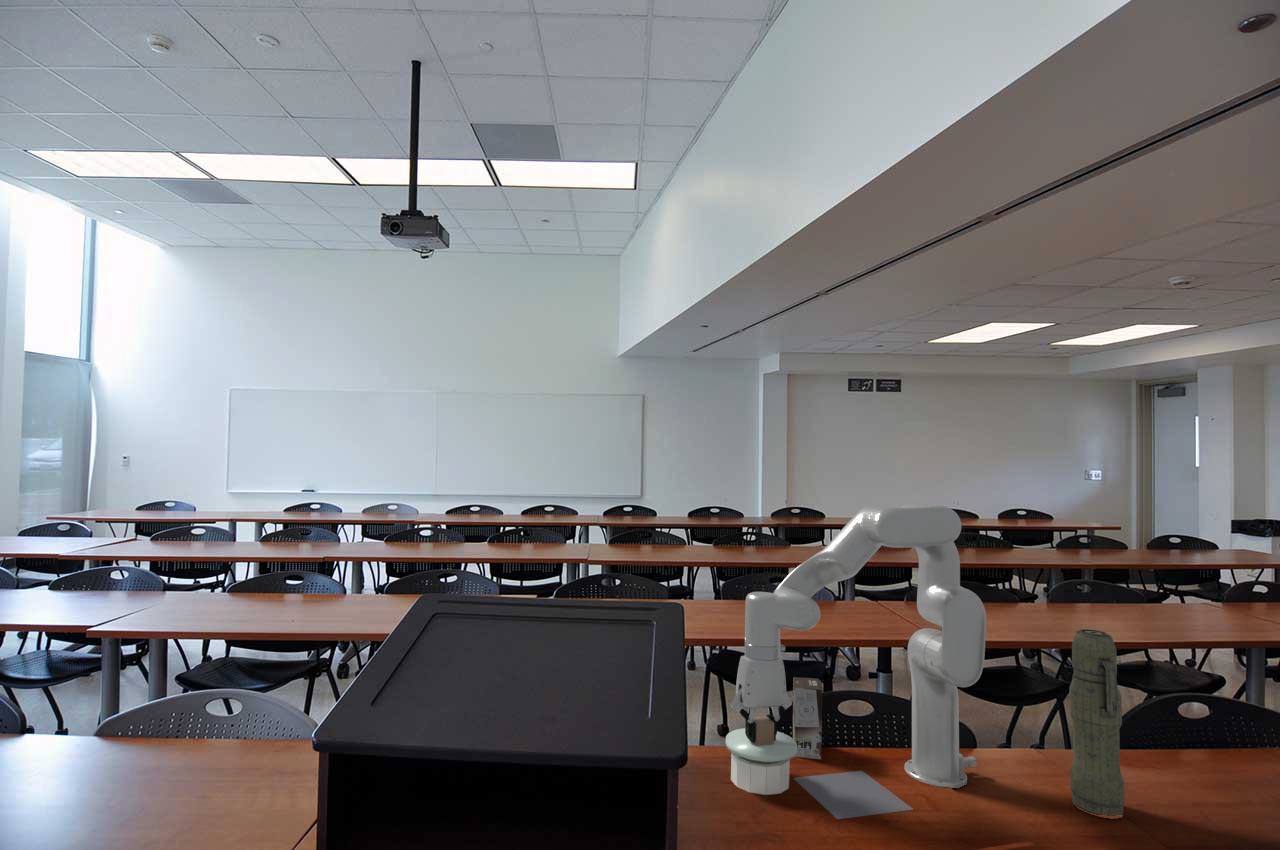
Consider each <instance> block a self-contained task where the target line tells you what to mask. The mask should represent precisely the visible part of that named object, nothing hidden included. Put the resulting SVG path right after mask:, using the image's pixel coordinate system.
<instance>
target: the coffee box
mask: <svg viewBox="0 0 1280 850" xmlns="http://www.w3.org/2000/svg"><path fill="white" fill-rule="evenodd" d="M792 685H793V687H792V693H793V694H792V696H793V697H792V738H793V739H794V740H795V741H796V743H797V753H796V755H795V756H794V757H797V758H805V759H813V760H814V759H815V760H822V737H823V736H822V732H823V731H822V730H823V729H822V725H823V722H822V721H823V720H822V719H823V714H822V713H823V712H822V711H823V687H822V685H821V680H820V679H819V678H812V677H796V676H794V677H793V683H792Z"/></svg>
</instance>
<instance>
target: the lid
mask: <svg viewBox="0 0 1280 850" xmlns="http://www.w3.org/2000/svg"><path fill="white" fill-rule="evenodd" d="M754 723H756V741H755V742H754V743H752V742H751V741H750V740H749V739H748V738H747V736H746V734H745V727H744V728H737V729H734V730H732V731H729V732H728V733H727V734H726V736H725V746H726V748H727V750H728V751H730V752H731V753H732V752H733V753H734V754H736V755H738V756H740V757H743V758H747V759H750V760H755V761H763V762H777V761H784V760H787V759H789V760H791V759H792V758H793V757H795V755H796V753H797V743H796V741H795V740H794V739H793V737H791V736H790V735H788V734H785V733H783V732H780V731H778V730H777V735H776V740H775V741H774V722H773V721H772V720H771V719H769V718H768V717H767V715H757V716H756V715H755V716H754Z"/></svg>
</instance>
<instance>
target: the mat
mask: <svg viewBox="0 0 1280 850" xmlns="http://www.w3.org/2000/svg"><path fill="white" fill-rule="evenodd" d="M792 779H793V780H794V781H796V782H797V784H799V786H801V787H802V788H803V789H804V790H805V791H806V792H807V793H808V794H809V795H810V796H811V797H813V798H814V799H815V800H816V801H817V802H818V803H819V804H820V805H821V806H822V807H823V808H824V809H825V810H826V811H828V813H830V814H831V815H832V816H833V817H834V818H835V819H837V820H843V819H850V818H859V817H867V816H876V815H882V814H884V815H885V814H891V813H898V812H899V813H900V812H907V811H914V808H912V807H911V806H910V805H909V804H907V803H906V802H905V801H903V800H902V799H901V798H900V797H898V796H896V795H895V794H894V793H893V792H891V791H890V790H889V789H887V788H886V787H885V786H883V785H882V784H881V783H879V782H878V781H876V780H875V779H874V778H872V777H871V776H870V775H869V774H867V773H866V772H865V771H863V770H856V771H855V770H854V771H846V772H836V773H827V774H817V775H808V776H798V777H792Z"/></svg>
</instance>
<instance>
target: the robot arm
mask: <svg viewBox="0 0 1280 850" xmlns="http://www.w3.org/2000/svg"><path fill="white" fill-rule="evenodd" d="M961 531H962V521H961V518H960V516H959V515H958V513H957V512H956V511H955V510H953V509H952V508H950V507H949V506H946V505H945V506H944V505H939V504H930V503H929V504H928V503H920V502H919V503H918V502H912V503H911V502H910V503H906V504H904V505H902V506H900V507H891V506H882V505H867V506H865V507H863V508H861V509H859V510H858V511H857V512H856V513H855V514H854V515H853V517H852V518H851V519H850V520H849V521H847V523H846V524H845V525H844V526H843V527H842V529H841V530H840V531H839V532H838V533H837V534H836V535H835V536H834V537H833V539H831V541H830V542H829V543H828V544H827V545H826V546H825V547H824V548H823V549H822V550H821V551H819V552H817V553H815V554H814V555H812V556H811V557H810V558H808V559H807V560H805V561H804V562H802V563H800V564H799V565H798V566H796V568H794V569H793V570H792V571H791V572H790V573H789V574H788V575H787V576H786V577H785V578H784V579H783V581H781V583H779V585H778V586H777V587H776V589H775V590H774V591H773V592H768V591H767V592H766V591H752V592H749V593H748V594H747V595H746V597H745V601H744V602H745V603H744V604H745V606H744V607H745V610H744V612H745V614H744V655H741V656H740V658H739V662H738V667H737V675H736V685H735V696H734V698H733V700H732V702H731V703H730V707H731V709H733V710H734V711H735V712H736V713H738V714H739V715H741V717H743V719H744V720H745V722H744V723H745V724H744V725H745V726H744V728H745V734H746V736H747V738H748V739H749V740H750V741H751V742H752V743H754V742H755V741H756V723H754V716H756V710H757V709H762V708H764V709H765V708H767V712H768V716H767V715H766V716H767V717H768V718H769V719H771V720H772V721H773V722H774V741H775V740H776V735H777V731H778V722H779V720H780V718H781V716H782V714H784V712H785V711H786V710H787V709H788V708H789V707H791V706H793V701H792V700H791V698H790V697H789V695H788V693H787V681H786V672H785V671H786V670H785V665H784V660H783V658H782V657H781V656H782V652H785V651H786V646H785V645H784V644H782V643H781V629H787V630H794V631H802V632H803V631H808V630H809V631H810V630H811V629H813V628H814V627H816V626H817V624H818V623H819V622H820V619H821V610H820V607H819V605H818V603H817V601H815V600H814V599H813V598H812V597H813V596H814V595H815V594H817V593H818V592H819V591H820V590H821V589H823V588H825V587H827V586H828V585H831V584H834V583H839V582H843V581H846V580H848V579H851V578H853V577H854V576H856V575H857V574H858V573H859V571H860V570H861V569H862V568H863V567H864V566H865V564H866V563H867V562H869V560H870V559H871V558H872V557H873V556H874V555H875V554H876V553H877V552H878V550H879V549H880V548H881V547H887V548H894V549H895V548H897V549H899V548H901V549H902V548H904V549H905V548H906V549H907V548H914V549H915V551H916V553H917V557H918V578H917V591H916V592H917V593H916V596H917V597H916V609H917V612H918V613H919V615H920V616H921V617H922V618H923V619H924V620H926V621H927V622H929V623H932V624H934V625H936V626H939V627H941V630H939V629H936V628H928V627H926V628H924V627H923V628H922V629H918V630H917V631H915V632H913V634H912V635H911V637H910V638H909V640H908V644H907V659H908V663H909V669H910V676H911V677H910V679H911V759H908V760H907V761H906V762H905V763H904V771H905V772H906V774H907V775H908V776H910V777H911V778H913V779H915V780H916V781H919V782H921V783H924V784H927V785H931V786H935V787H941V788H949V789H951V788H956V789H961V788H962V786H963V787H964V785H967V783H968V776H967V774H966V773H965V771H964V770H965V769H966V768H967V767H969V768H971V767H977V765H978V761H977V758H976V757H974V756H966V757H964V755H963V754H962V753H960V725H959V724H960V721H959V720H960V715H959V714H960V713H959V711H960V701H959V690H958V687H959V688H968V687H971V686H972V685H974V684H976V683H977V682H978V680H979V679H980V678H981V675H982V673H983V669H984V665H985V655H986V654H985V652H986V635H987V633H986V632H987V612H986V608H985V606H984V603H983V601H982V600H981V598H980V597H979V596H978V595H977V594H976V593H975V592H973V591H972V590H970V589H968V588H965V587H962V586H961V565H960V564H961V561H960V555H959V551H958V548H957V546H956V543H955V541H956V540H957V539H958V538H959V536H960V534H961ZM741 704H743V707H742V706H741ZM960 787H961V788H960Z"/></svg>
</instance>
